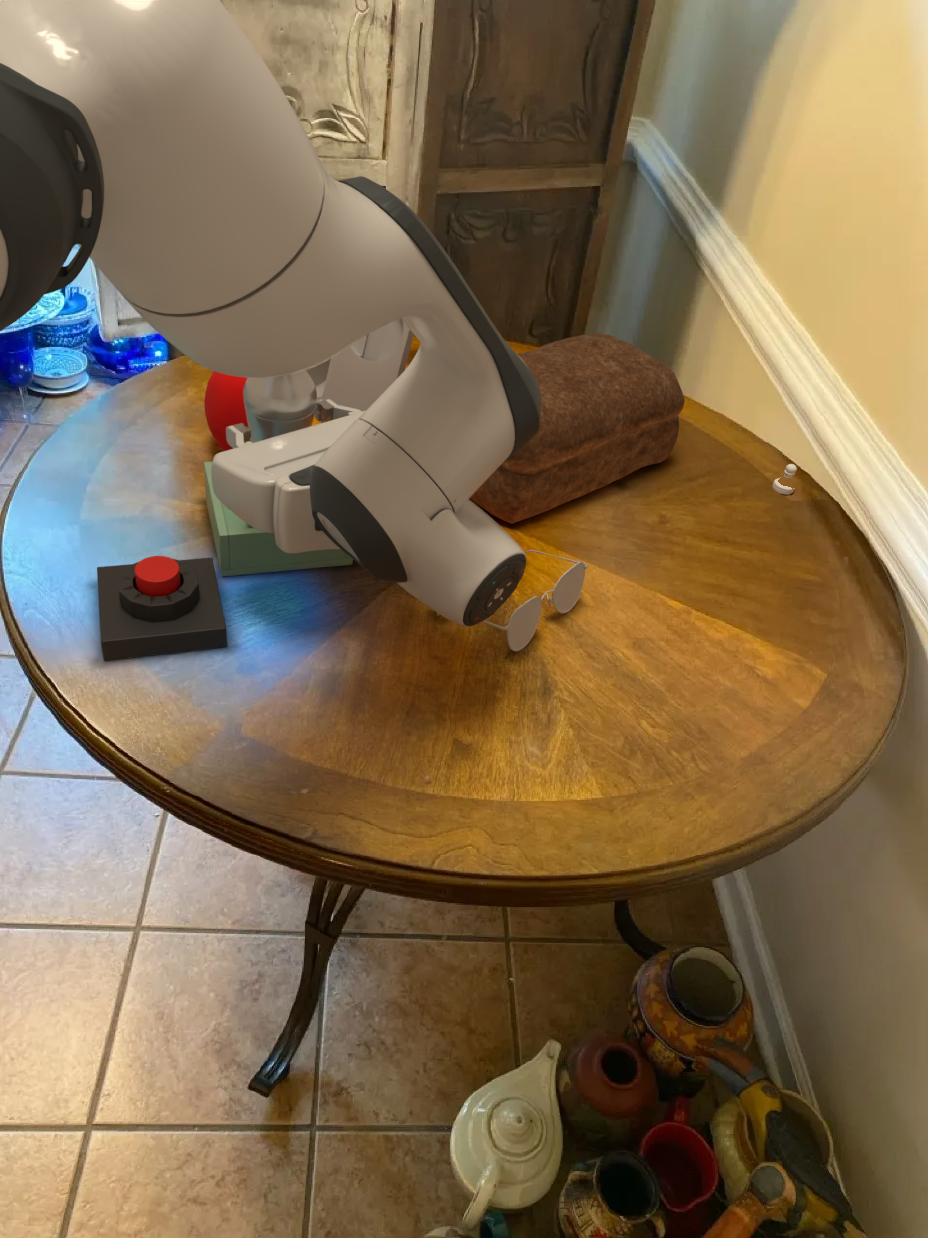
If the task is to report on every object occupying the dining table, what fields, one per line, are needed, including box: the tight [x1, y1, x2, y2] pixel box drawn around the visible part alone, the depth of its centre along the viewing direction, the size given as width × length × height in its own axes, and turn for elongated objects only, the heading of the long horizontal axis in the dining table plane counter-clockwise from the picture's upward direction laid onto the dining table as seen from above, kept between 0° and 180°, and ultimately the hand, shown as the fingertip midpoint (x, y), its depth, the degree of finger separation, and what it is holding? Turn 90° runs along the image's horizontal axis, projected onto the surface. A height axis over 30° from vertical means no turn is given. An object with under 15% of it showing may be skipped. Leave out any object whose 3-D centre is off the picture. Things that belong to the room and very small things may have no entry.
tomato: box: [203, 371, 248, 452], centre depth 100 cm, size 10×11×11 cm
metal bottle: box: [243, 370, 317, 443], centre depth 85 cm, size 6×7×20 cm
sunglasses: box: [436, 549, 589, 652], centre depth 87 cm, size 14×8×5 cm, turn 141°
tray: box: [203, 461, 354, 577], centre depth 91 cm, size 13×13×5 cm
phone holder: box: [306, 319, 415, 411], centre depth 109 cm, size 17×10×18 cm, turn 62°
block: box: [96, 557, 228, 662], centre depth 80 cm, size 10×10×4 cm
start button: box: [135, 555, 181, 597], centre depth 78 cm, size 4×4×2 cm
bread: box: [469, 332, 686, 525], centre depth 106 cm, size 17×30×13 cm, turn 131°
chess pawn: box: [771, 463, 798, 495], centre depth 112 cm, size 3×3×4 cm
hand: (278, 419), depth 84 cm, fingers open, 8 cm apart
